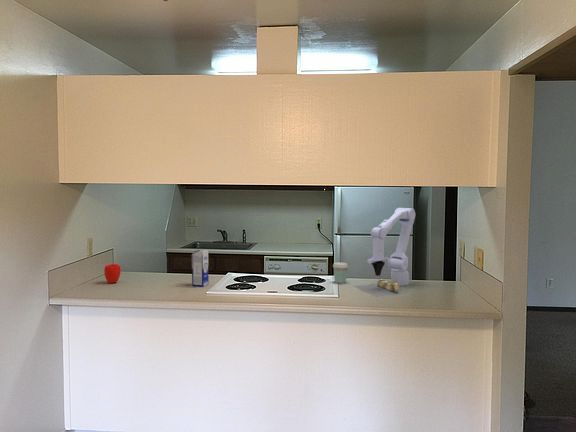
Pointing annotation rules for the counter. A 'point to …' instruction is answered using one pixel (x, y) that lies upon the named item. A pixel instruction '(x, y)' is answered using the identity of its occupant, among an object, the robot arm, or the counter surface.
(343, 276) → the coffee cup
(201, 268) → the milk carton
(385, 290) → the board
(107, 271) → the apple
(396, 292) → the keeper
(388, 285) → the link
